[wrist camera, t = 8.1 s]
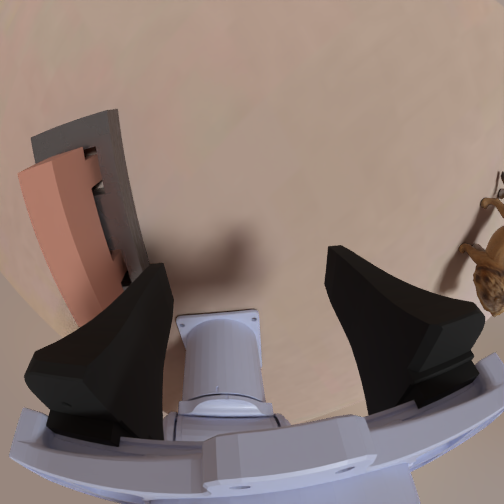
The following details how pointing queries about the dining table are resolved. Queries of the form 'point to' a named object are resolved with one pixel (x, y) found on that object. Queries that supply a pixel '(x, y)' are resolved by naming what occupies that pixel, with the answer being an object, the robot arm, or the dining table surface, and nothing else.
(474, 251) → the lion figurine
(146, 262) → the slotted metal plate
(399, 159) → the dining table surface
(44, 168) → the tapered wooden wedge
